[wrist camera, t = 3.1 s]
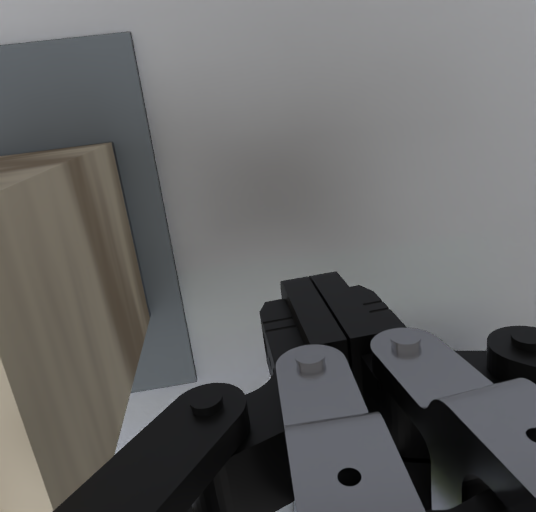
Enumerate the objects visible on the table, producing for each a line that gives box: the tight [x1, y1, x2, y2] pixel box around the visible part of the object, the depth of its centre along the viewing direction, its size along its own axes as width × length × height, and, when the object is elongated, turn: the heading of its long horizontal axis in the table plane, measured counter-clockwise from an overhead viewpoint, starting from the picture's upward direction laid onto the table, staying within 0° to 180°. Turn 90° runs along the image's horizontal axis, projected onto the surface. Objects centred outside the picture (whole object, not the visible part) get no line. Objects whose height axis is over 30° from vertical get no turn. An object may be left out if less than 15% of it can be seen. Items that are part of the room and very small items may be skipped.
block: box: [0, 142, 151, 512], centre depth 14 cm, size 5×8×13 cm, turn 7°
